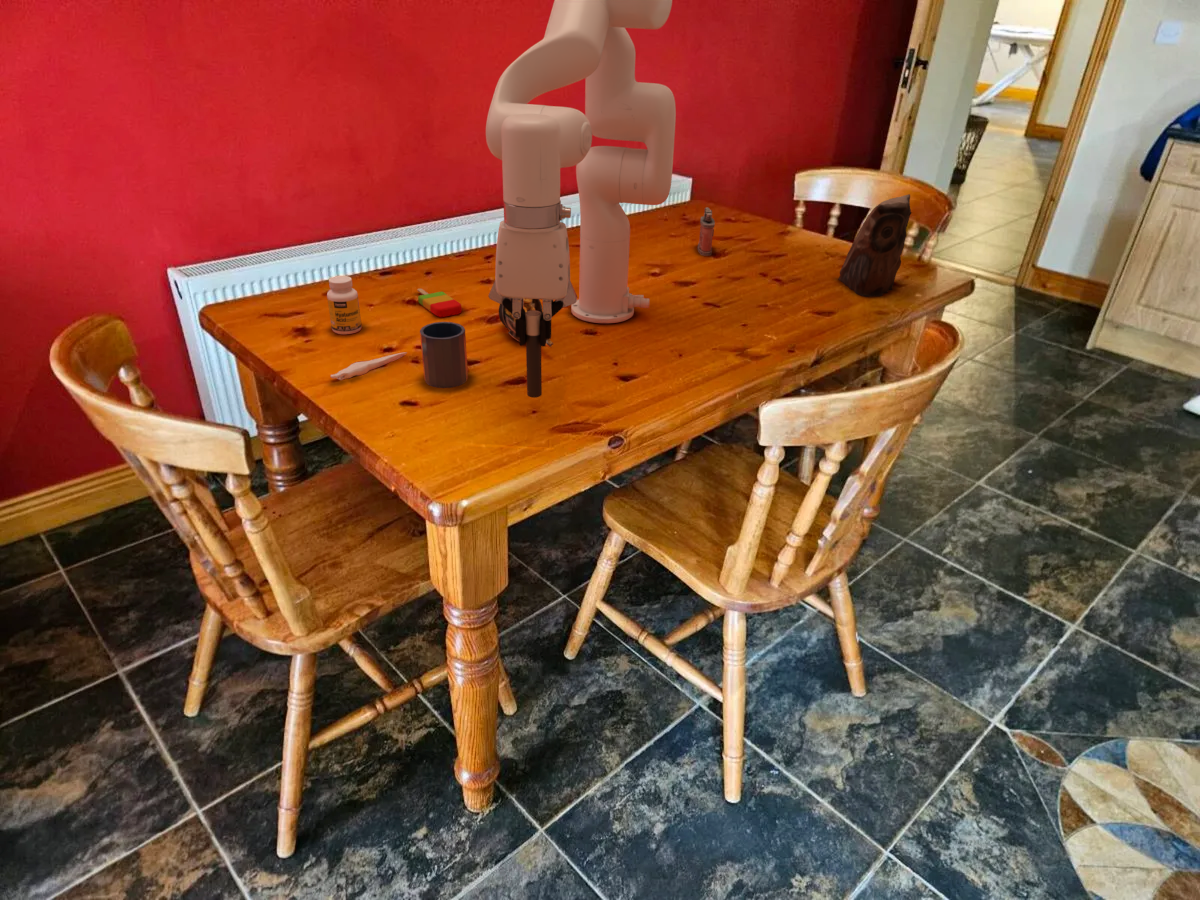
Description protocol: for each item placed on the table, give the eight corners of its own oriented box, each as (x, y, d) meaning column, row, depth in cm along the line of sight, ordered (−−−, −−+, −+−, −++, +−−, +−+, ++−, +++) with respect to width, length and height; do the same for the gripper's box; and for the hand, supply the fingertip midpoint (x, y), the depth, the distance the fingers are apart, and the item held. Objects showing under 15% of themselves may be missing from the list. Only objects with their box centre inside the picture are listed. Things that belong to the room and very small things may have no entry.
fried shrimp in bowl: (529, 294, 153) (585, 290, 139) (521, 350, 154) (576, 352, 140) (488, 283, 148) (542, 279, 134) (480, 342, 148) (533, 344, 134)
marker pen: (542, 391, 120) (542, 310, 114) (541, 398, 119) (540, 316, 112) (527, 390, 121) (526, 309, 114) (525, 397, 119) (524, 315, 112)
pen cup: (471, 372, 134) (468, 322, 129) (463, 391, 128) (459, 339, 123) (430, 370, 134) (426, 320, 129) (420, 389, 128) (415, 337, 123)
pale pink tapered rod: (336, 387, 128) (334, 376, 127) (327, 381, 129) (325, 371, 128) (412, 359, 137) (411, 349, 136) (402, 354, 139) (401, 345, 138)
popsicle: (438, 318, 153) (438, 309, 152) (406, 295, 164) (406, 287, 163) (464, 313, 156) (463, 304, 155) (431, 291, 167) (430, 282, 166)
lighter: (713, 255, 193) (717, 214, 188) (699, 255, 193) (703, 214, 188) (709, 246, 200) (713, 206, 195) (696, 245, 200) (700, 205, 195)
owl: (892, 280, 181) (913, 191, 171) (907, 300, 170) (930, 206, 160) (837, 278, 182) (854, 188, 171) (848, 297, 171) (867, 203, 160)
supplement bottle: (335, 337, 145) (327, 285, 139) (329, 326, 149) (321, 276, 144) (365, 332, 147) (358, 281, 142) (358, 322, 151) (351, 272, 146)
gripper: (593, 210, 109) (590, 335, 118) (477, 205, 109) (483, 329, 119) (589, 225, 102) (586, 355, 112) (466, 219, 103) (474, 349, 112)
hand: (533, 341), depth 115 cm, fingers closed on marker pen, 2 cm apart
